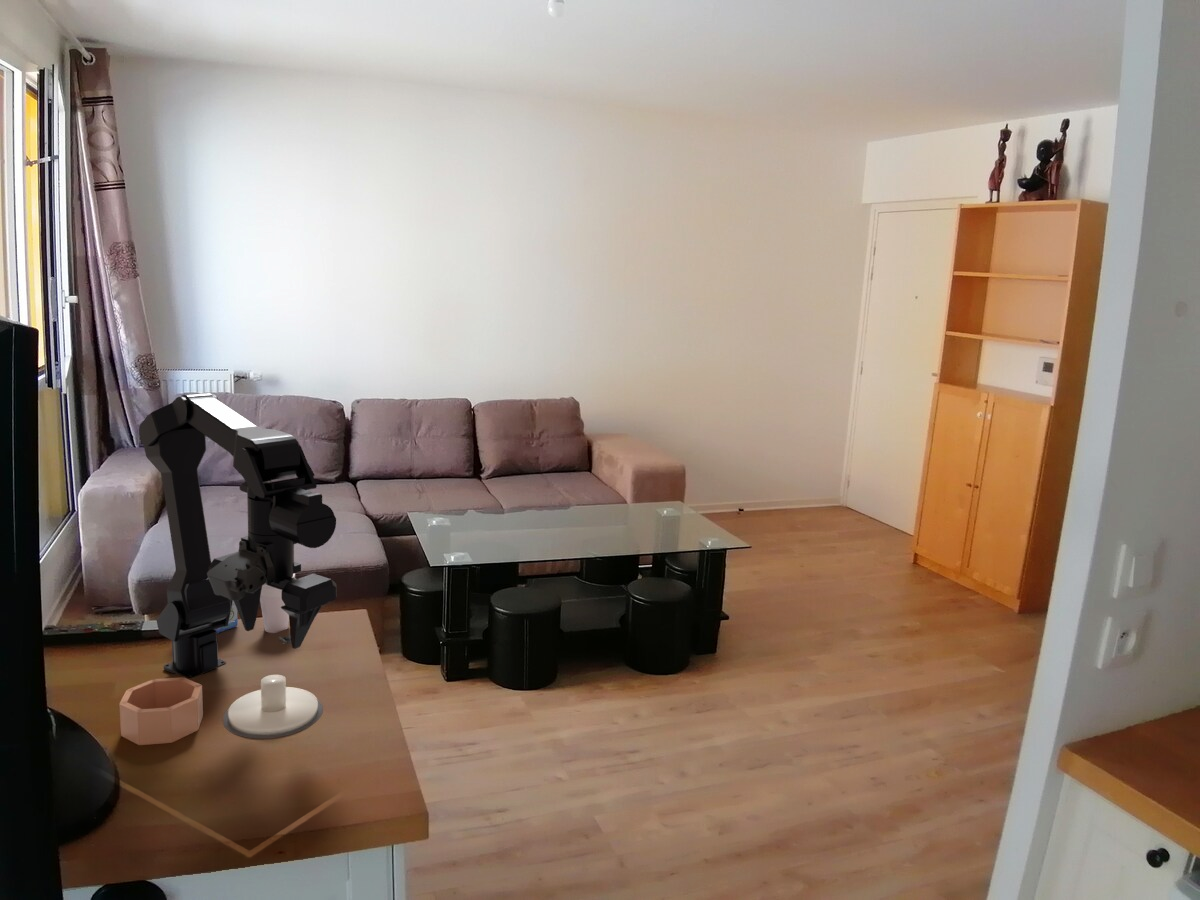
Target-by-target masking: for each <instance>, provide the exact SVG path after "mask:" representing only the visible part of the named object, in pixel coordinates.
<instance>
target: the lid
mask: <svg viewBox="0 0 1200 900" xmlns="http://www.w3.org/2000/svg"><path fill="white" fill-rule="evenodd" d="M286 681H287V678H286V677H285V675H281V674H270V675H266V676H264V677H263V678H261V680H260V689H258V690H254V691H251V692H248V693H246V694H244V695H242V696H241V697H238V698H237V699H236V700H234V701H233V702H232V703H231V705H230V706H229V707H228V709H229V711H228V720H229V723H230V725H231V726H232V727H233V728H234V729H236V730H237V731H240V732H242V733H246V734H251V735H275V734H281V733H286V732H289V731H293V730H295V729H298V728H300V727H302V726H304V725H306V724H308V723H309V722H310V721H311V720H312V719H314V717H315V716H316V714H317V711H318V701H317V699H318V698H317V697H316V696H315V694H314V693H312V692H310V691H309V690H306V689H302V688H299V687H291V686H286V685H287V684H286V683H287V682H286Z"/></svg>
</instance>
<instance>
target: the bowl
mask: <svg viewBox="0 0 1200 900" xmlns="http://www.w3.org/2000/svg"><path fill="white" fill-rule="evenodd" d="M118 705H119V706H118V707H119V724H120V726H119V727H120V737H123V738H124V739H126V740H128V741H130V742H131V743H134V744H136V745H138V746H145V745H159V744H169V743H171V744H173V743H174V742H177V741H178V740H180V739H183V738H184V737H186V736H189V735H190V734H193V733H194V732H195V733H196V732H198V731H199V728H200V725H201V724H202V720H203V717H204V709H203V708H204V706H203V705H204V703H203V684H200V683H198V682H195V681H193V680H191V679H190V678H187V677H185V676H182V677H168V678H153V679H149V680H148V681H145V682H142V683H140V684H138V685H136V686H133V687H131V688H128V689H126V691H125V692H124V695H123V696H122V698H121V700H120V702H119V704H118Z"/></svg>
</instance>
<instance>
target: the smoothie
mask: <svg viewBox="0 0 1200 900" xmlns="http://www.w3.org/2000/svg"><path fill="white" fill-rule="evenodd" d="M292 578H295V579H296V573H294V574H293V577H292ZM259 603H260V608H261V614H262V621H263V625H264V631H265V632H266V633H269V634H277V633H280V632H282V631H285V630H287V629H289V615H288V614H287V613H286V612H285V611H284V610H283V609H281V607H282V606H284V605H285V604H284V602H283V601H282V590H280V589H277V588H274V587H271V586H268V585H263V586H262V590H261V595H260V601H259Z"/></svg>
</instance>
